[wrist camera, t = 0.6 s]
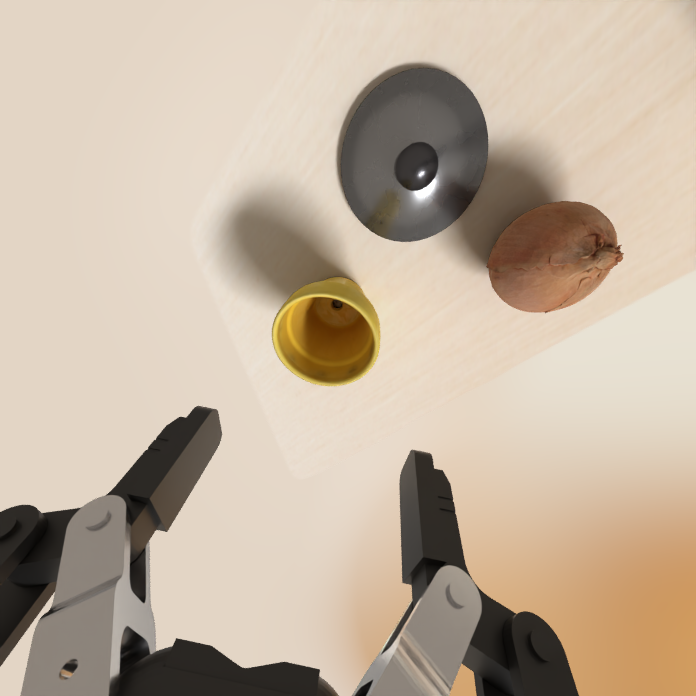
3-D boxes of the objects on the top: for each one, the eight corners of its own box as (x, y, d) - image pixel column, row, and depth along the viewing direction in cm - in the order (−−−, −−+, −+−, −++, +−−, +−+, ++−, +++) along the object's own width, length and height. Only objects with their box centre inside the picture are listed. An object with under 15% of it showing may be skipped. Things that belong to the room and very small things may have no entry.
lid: (445, 24, 21) (463, -16, 16) (506, 185, 26) (532, 190, 22) (314, 148, 26) (300, 144, 21) (387, 263, 31) (388, 280, 27)
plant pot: (279, 291, 34) (247, 331, 26) (347, 240, 30) (334, 268, 22) (331, 350, 38) (317, 401, 30) (396, 313, 34) (401, 359, 26)
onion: (544, 211, 29) (672, 183, 20) (535, 301, 32) (644, 313, 23) (466, 216, 27) (567, 187, 18) (463, 311, 30) (549, 329, 21)
